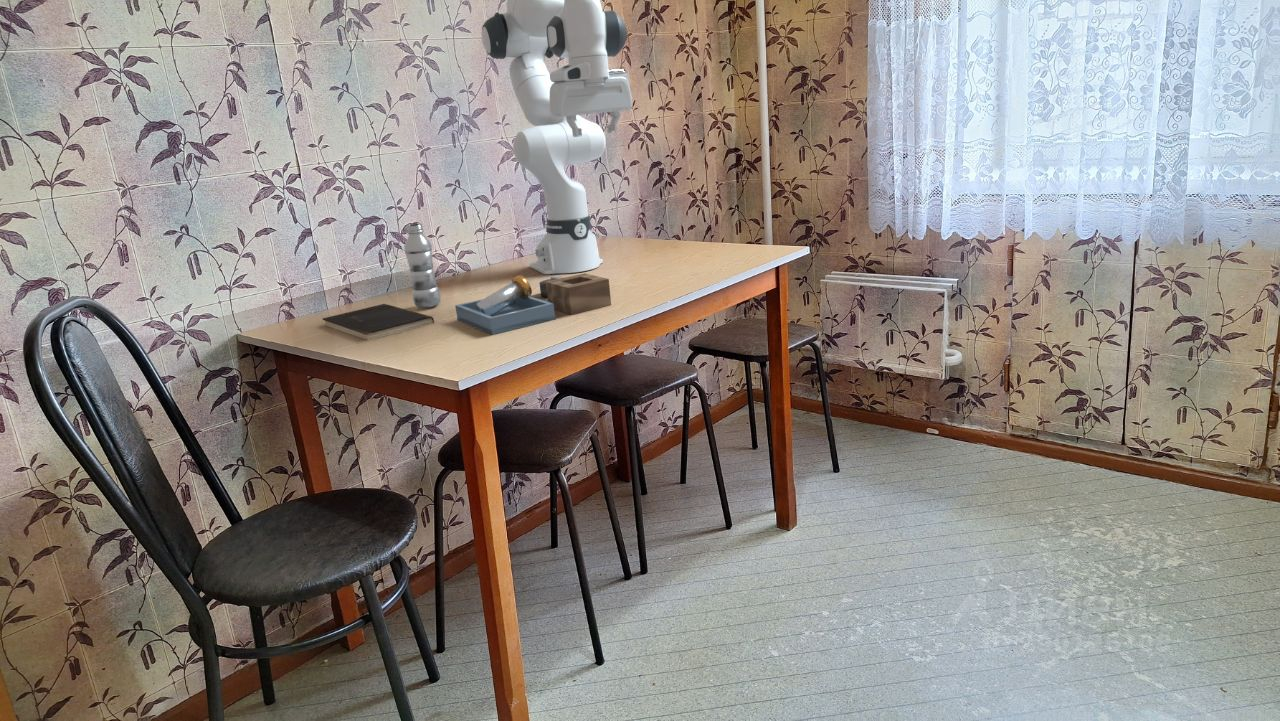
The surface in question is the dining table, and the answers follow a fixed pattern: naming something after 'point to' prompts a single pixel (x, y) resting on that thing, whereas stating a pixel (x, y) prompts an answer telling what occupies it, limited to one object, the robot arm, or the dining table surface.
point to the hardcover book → (377, 321)
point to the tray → (507, 315)
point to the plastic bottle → (421, 267)
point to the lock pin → (505, 296)
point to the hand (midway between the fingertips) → (595, 134)
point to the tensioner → (575, 293)
